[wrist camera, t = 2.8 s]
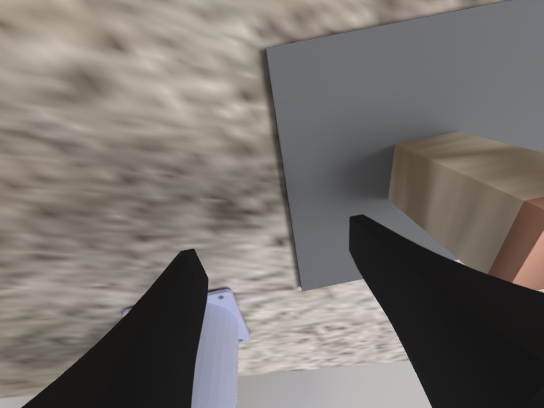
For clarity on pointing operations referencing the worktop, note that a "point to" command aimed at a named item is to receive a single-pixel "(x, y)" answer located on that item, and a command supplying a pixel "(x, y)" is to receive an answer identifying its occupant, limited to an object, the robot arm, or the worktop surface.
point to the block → (476, 201)
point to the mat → (395, 115)
